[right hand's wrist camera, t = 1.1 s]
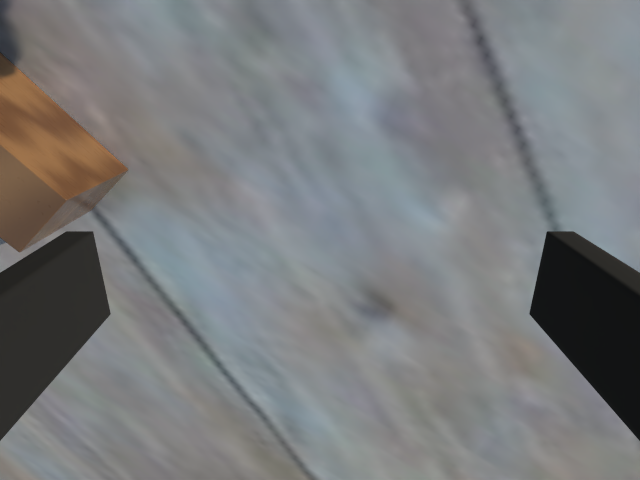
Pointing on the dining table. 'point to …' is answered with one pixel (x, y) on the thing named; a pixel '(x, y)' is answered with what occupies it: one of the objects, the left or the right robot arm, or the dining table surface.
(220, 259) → the dining table surface
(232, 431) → the dining table surface
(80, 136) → the bar
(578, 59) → the dining table surface
